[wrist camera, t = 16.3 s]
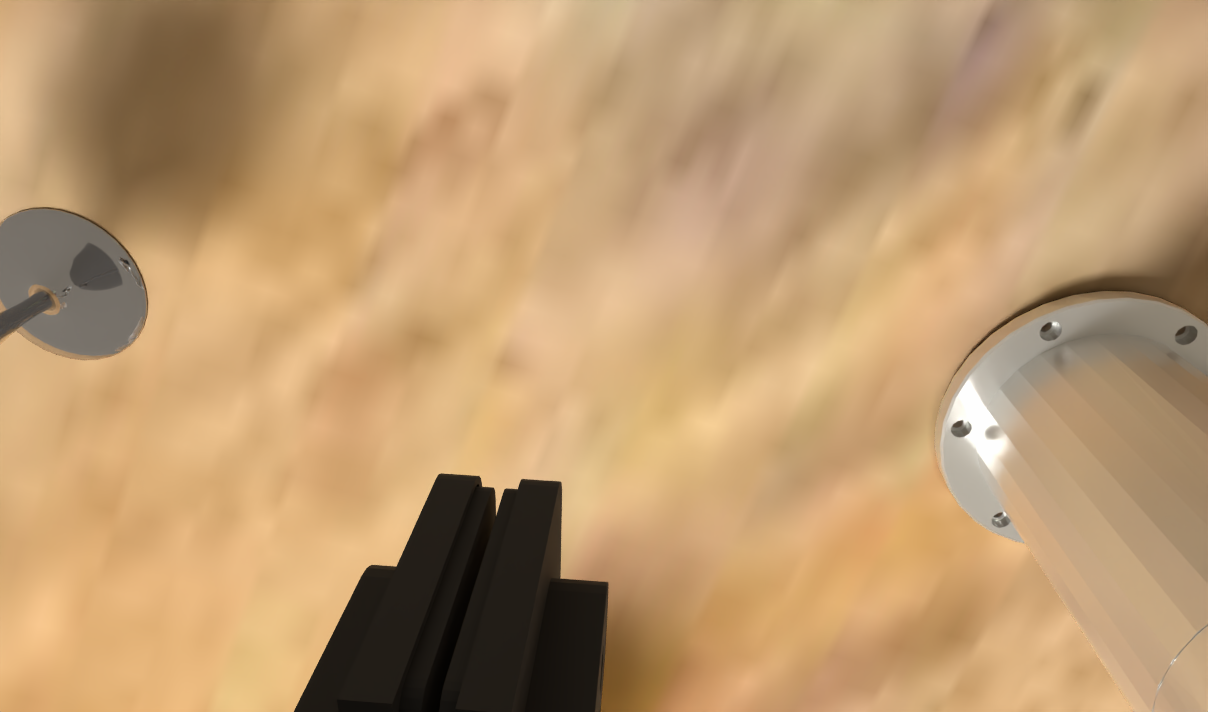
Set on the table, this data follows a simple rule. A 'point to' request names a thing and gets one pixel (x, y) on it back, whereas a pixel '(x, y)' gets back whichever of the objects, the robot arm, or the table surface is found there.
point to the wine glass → (68, 285)
